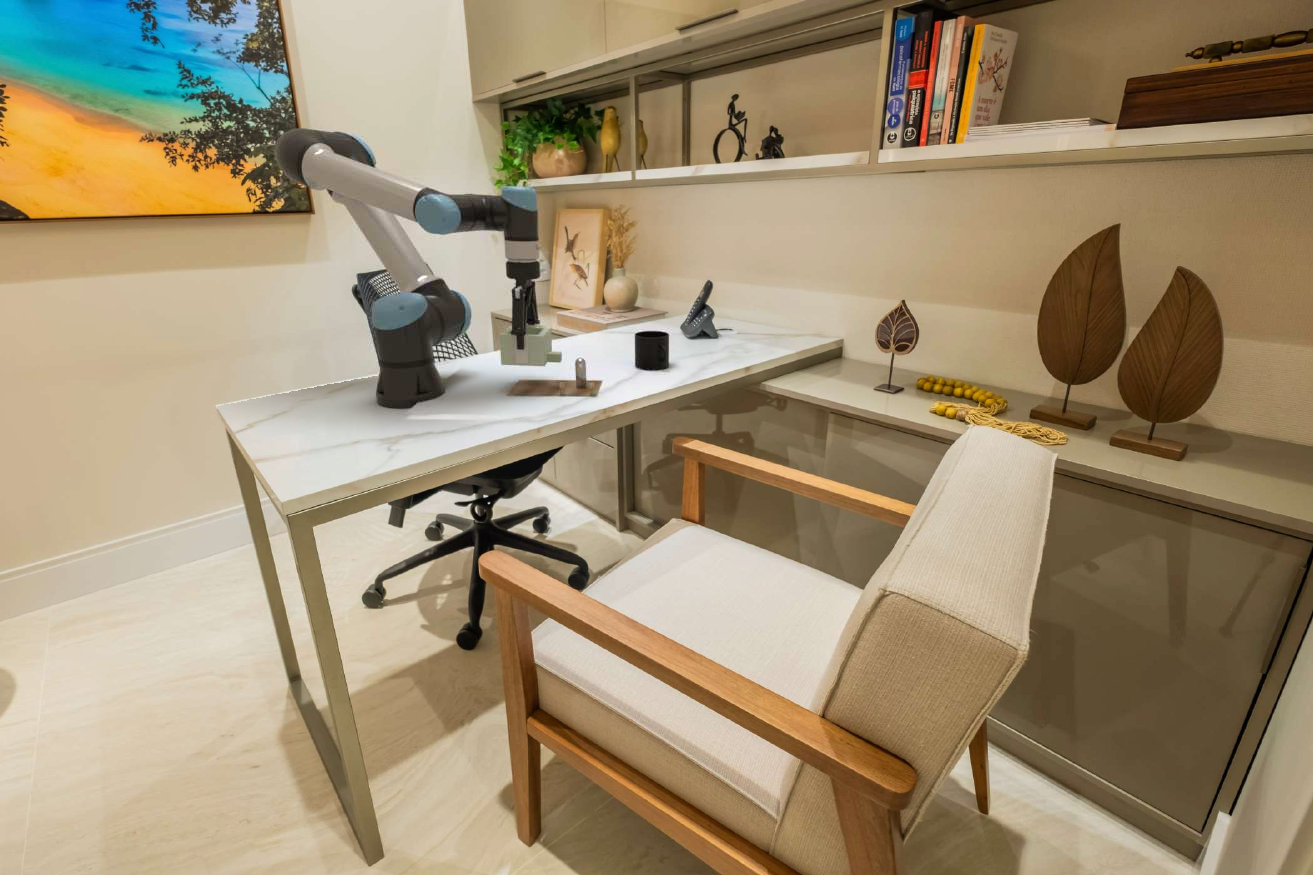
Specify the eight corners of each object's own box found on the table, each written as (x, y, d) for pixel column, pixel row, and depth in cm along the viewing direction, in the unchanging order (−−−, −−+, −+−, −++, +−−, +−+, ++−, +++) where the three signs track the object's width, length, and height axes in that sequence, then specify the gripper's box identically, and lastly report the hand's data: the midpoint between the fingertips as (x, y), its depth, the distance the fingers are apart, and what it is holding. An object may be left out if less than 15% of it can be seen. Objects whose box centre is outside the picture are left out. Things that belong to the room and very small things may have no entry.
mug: (650, 374, 167) (650, 341, 164) (628, 364, 176) (628, 333, 173) (680, 369, 171) (680, 337, 168) (657, 360, 181) (657, 329, 178)
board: (506, 400, 145) (505, 383, 144) (519, 384, 158) (518, 368, 156) (596, 401, 145) (596, 384, 143) (602, 385, 157) (602, 368, 156)
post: (575, 388, 150) (574, 359, 148) (577, 385, 153) (575, 356, 150) (585, 388, 150) (584, 359, 148) (587, 385, 153) (586, 356, 150)
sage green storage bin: (501, 364, 145) (499, 334, 142) (511, 354, 154) (509, 325, 152) (557, 366, 145) (556, 336, 142) (564, 356, 154) (563, 327, 151)
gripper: (528, 266, 130) (533, 370, 139) (548, 255, 151) (551, 346, 160) (492, 265, 130) (499, 369, 139) (517, 254, 151) (522, 345, 160)
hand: (527, 356), depth 149 cm, fingers closed on sage green storage bin, 10 cm apart
